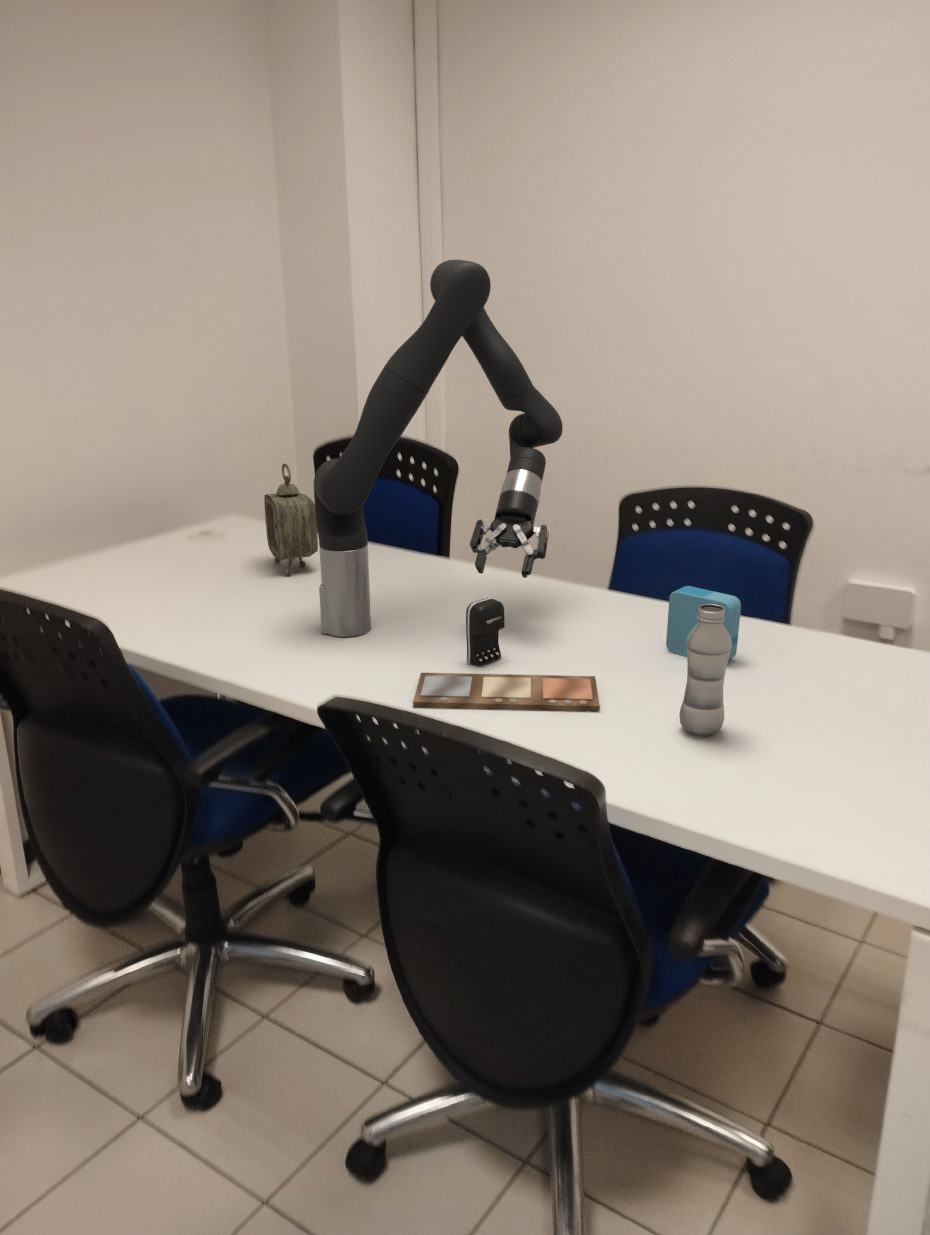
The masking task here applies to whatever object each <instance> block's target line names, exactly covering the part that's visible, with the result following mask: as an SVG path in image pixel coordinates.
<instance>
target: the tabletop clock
mask: <svg viewBox="0 0 930 1235" xmlns="http://www.w3.org/2000/svg"><path fill="white" fill-rule="evenodd" d="M285 469H286V471H287V474H288V475H286V474H285ZM281 472H282V474H281V475H282V478H283V480H284V483H282V484H280V485H278V488H277V490H276V493H267V494H264V501H263V502H264V518H265V519H264V520H265V528H266V538H267V545H268V549H269V552H270V553H271V554H272V556H273V557H274V560H273V561H274V563H275V564H277V565H279V564H280V563H281V562H282V561H285V560H288V564H287V568H286V569H285V570H284V575H285V576H287V577H289V576H291V575H292V572H293V571H292V570H291V566H292V563H294V560H295V559H298V560H299V563H298V566H299V568H305V567H306V564H307V563H306V562H305V561H304V560H303V558H310V557H311V556H313V555H314V554H316V553H317V552H318V551H319V549H318V548H319V537H318V531H317V525H316V513H315V501H314V500H312V499H311V497H310V496H308V495H306V494H305V493H301V492H300V490H299V489H298V487H297V485H295V484H293V483H290V482H291V480H292V479H291V476H292V475H291V474H292V473H291V469H290V466H289V465H288V464H287V463H282V465H281Z"/></svg>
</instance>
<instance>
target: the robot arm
mask: <svg viewBox="0 0 930 1235" xmlns="http://www.w3.org/2000/svg"><path fill="white" fill-rule="evenodd" d="M429 282H430V283H429V286H430V292H431V295H432V298H433V300H434V302H433V304H432V307H431V308H430V310H429V312H428V314H427V315H426V317H425V319H424V321H423V322H422V323H421V324H420V326H419V327H418V328H417V330H415V332H413V333H412V334H411V335H410V336H409V338H408V339H406V341H404V342H403V344H401V345H400V346H399V347H398V349H396V351H394V353H393V354H392V355H391V356H390V358H389V359H388V360H387V362H386V364H385V365H384V367H383V368H382V370H381V371H380V372H379V375H378V376H377V378H376V380H375V381H374V383H373V385H372V387H371V389H370V391H369V393H368V396H367V398H366V401H365V402H364V403H365V404H364V405H363V408H362V411H361V415H360V419H359V421H358V425H357V427H356V430H355V432H354V434H353V436H352V438H351V440H350V441H349V443H348V445H347V446H346V448H345V449H344V451H343V452H342V454H341V455H340V456H339V457H338V458H331V459H329V460H327V461H325V462H323V463H322V464H321V465H320V466H319V467H318V469H317V470H316V472H315V475H314V479H313V498H314V500H313V501H314V504H315V513H316V525H317V535H318V548H319V561H320V577H321V578H320V580H321V584H320V585H319V587H318V588H319V589H318V593H319V609H320V625H321V626H320V627H321V634H322V635H324V634H325V635H329V636H334V637H342V638H347V637H356V636H362V635H365V634H366V633H369V632H370V631H371V629H372V616H371V613H372V612H371V592H370V591H371V590H370V589H371V588H370V567H369V563H370V562H369V547H368V546H369V544H368V543H369V540H368V539H369V538H368V531H367V530H368V529H367V526H366V521H365V515H364V505H365V503H366V501H367V499H368V497H369V495H370V493H371V491H372V489H373V487H374V485H375V482H376V480H377V479H378V476H379V474H380V471H381V469H382V467H383V465H384V463H385V461H386V460H387V458H388V456H389V455H390V453H391V452H392V449H394V447H395V445H396V444H397V443H398V442H399V439H400V438H401V437H402V435H403V433H404V432H405V430H406V429H407V427H408V425H409V424H410V422H411V421H412V419H413V418H414V416H415V415H416V413H417V411H418V410H419V408H421V405H422V403H423V402H424V400H425V399H426V397H427V395H428V394H429V392H430V390H431V388H432V387H433V384H434V382H435V381H436V379H437V378H438V376H439V374H440V373H441V371H442V369H443V368H444V366H445V364H446V362H447V360H448V359H449V357H450V355H451V353H452V352H453V350H454V348H455V346H456V345H457V344H458V342H459V341H460V339H461V338H463V339H464V341H465V342H466V344H467V346H468V347H469V349H470V350H471V352H472V353H473V355H474V357H475V359H476V360H477V362H478V364H479V365H480V367H481V369H482V371H483V373H484V374H485V377H486V378H487V380H488V381H489V384H490V385H491V387H492V389H493V391H494V393H495V394H496V396H497V398H498V400H499V402H500V403H501V405H502V407H503V408H504V409H505V410H507V411H510V412H511V411H512V412H513V411H515V412H516V411H517V412H521V414H518V415H516V416H515V417H513V418H512V420H511V422H510V424H509V428H508V440H509V441H508V442H509V462H508V467H507V470H506V474H505V477H504V479H503V480H504V481H503V483H502V486H501V490H500V494H499V497H498V501H497V502H498V503H497V506H496V510H495V515H494V519H493V520H492V522H491V523H489V522H488V523H487V522H483V520H482V519H477V521H476V522H475V526H474V529H473V533H472V535H471V538H470V541H469V548H471V551H472V553H475V554H476V558H475V562H474V567H475V569H476V571H477V573H478V574H482V575H483V574H484V570H485V566H486V563H487V558H488V555H489V554H490V553H491V552H493V551H495V550H496V549H497V548H499V547H500V546H501V548H509V547H510V548H513V549H518V548H522V550H523V551H524V553H525V555H524V559H523V563H522V567H521V571H520V572H521V576H522V578H525V579H526V578H528V576H530V575H531V574H532V571H533V568H534V567H533V566H534V562H535V560H537V559H541V560H543V559H546V555H547V549H548V542H549V530H548V526H547V525H546V524H542V525H540V526H534V525H535V521H536V516H537V512H538V508H539V504H540V500H541V492H542V483H543V480H544V479H543V478H544V475H545V470H546V464H547V460H546V457H545V455H544V454H543V452H542V451H540V450H538V449H537V448H538V447H542V446H547V445H551V444H554V443H557V441H559V440H560V438H561V437H562V434H563V431H564V430H563V422H562V419H561V415H560V414H559V412H558V411H557V409H556V408H555V407H554V406H553V405H552V404H551V403H550V402H549V401H548V400H547V399H546V398H545V397H544V395H542V393H541V392H540V391H539V390H538V389H537V388H536V387H535V386H534V385H533V382H532V381H531V379H530V376H529V375H528V373H527V371H526V368H525V367H524V365H523V363H522V361H521V360H520V359H519V357H518V356H517V354H516V353H515V351H514V349H513V348H512V347H511V346H510V344H509V343H508V342H507V341H506V340H505V339H504V337H503V336H502V335H501V333H500V331H498V329H497V328H496V326H495V325H494V323H493V321H492V320H491V318H490V317H489V315H488V313H487V311H486V309H485V307H486V306H485V305H486V304H487V302H488V300H489V297H490V294H491V289H492V288H491V279H490V275H489V273H488V271H487V270H486V269H485V267H484V266H483V265H481V264H479V263H478V262H475V261H471V260H463V259H448V260H445V261H442V262H441V263H439V264H438V265H437V266H436V267H435V269H434V270H433V272H432V273H431V277H430V281H429ZM489 531H491V533H489V535H488V536H487V537H486V538H485V539H484V541H482V540H483V538H484V535H486V534H487V533H488V532H489ZM534 534H535V535H536V539H538V540H537V541H538V542H537V547H536V548H535V549H533V548H532V546H531V544H530V542H529V540H530V539H531V538H532V537H533V536H534Z"/></svg>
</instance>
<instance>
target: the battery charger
mask: <svg viewBox="0 0 930 1235" xmlns="http://www.w3.org/2000/svg"><path fill="white" fill-rule="evenodd" d="M465 611H466V613H465V631H466V632H465V634H466V636H465V638H466V662H467V663H468V664H469V665H473V666H478V667H480V666H485V665H487V664H491V663H493V662H495V661H497V660H500V659H501V658H502V652H501V648H500V644H499V635H500V634H499V633H500V630H501V629H504V628H505V627H506V626H505V622H506V620H505V618H506V616H505V606H504V604H503V603H502V602H501V601H499V600H497V599H495V598H492V597H487V598H483V599H480V600H476V601H474V602H471V603H470V604H469V605H468V606H467V608H466V610H465Z"/></svg>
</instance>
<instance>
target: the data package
mask: <svg viewBox="0 0 930 1235" xmlns="http://www.w3.org/2000/svg"><path fill="white" fill-rule="evenodd" d="M668 600H669V601H668V612H667V614H668V615H667V627H666V637H665V638H666V640H665V645H666V648H667V650H668V651H669V652H671V653H673V654H675V655H679V656H681V657H682V656H683V657H687V637H688V635H689V633H690V632H691V630H692V629H693V628H694V627H695V626H696V625H697V624H698V623H699V620H698V619H697V615H698V610H699V606H701V605H704V604H714V605H719V606H722V607H724V610H725V612H724V617H725V621H724V622H723V623H722V624H723V626H724V627H725V628H726V630H727V631H728V633H729V635H730V637H731V641H732V646H731V650H730V655H729V659H728V661H730V660H731V659H733V658H735V657H736V655H737V652H738V641H739V631H740V621H741V609H742V602H741V600H740V598H738V597H737V596H735V595H731V594H727V593H722V592H718V591H713V590H709V589H704V588H699V587H695V586H691V585H684V586H682V587H681V588H680V587H679V589H676V590H675V591H673V592H671V593H670V595H669V598H668Z"/></svg>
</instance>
